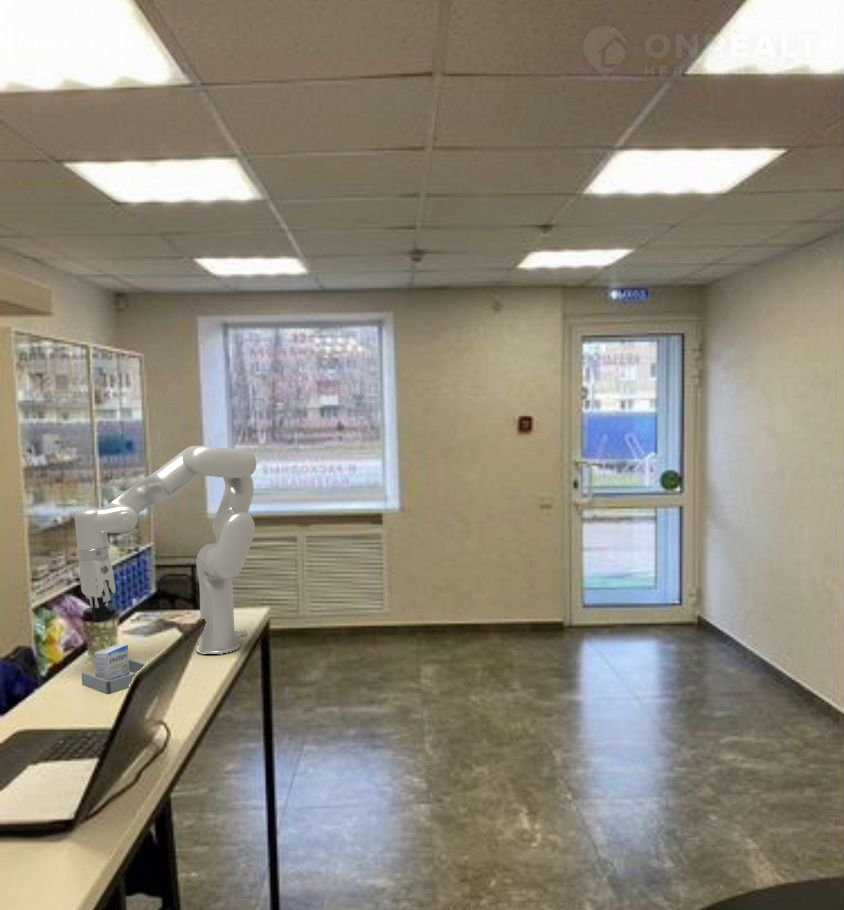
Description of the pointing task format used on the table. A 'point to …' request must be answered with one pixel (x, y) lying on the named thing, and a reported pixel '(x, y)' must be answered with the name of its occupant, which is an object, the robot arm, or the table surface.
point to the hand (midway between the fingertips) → (100, 620)
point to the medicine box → (112, 662)
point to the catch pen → (113, 684)
